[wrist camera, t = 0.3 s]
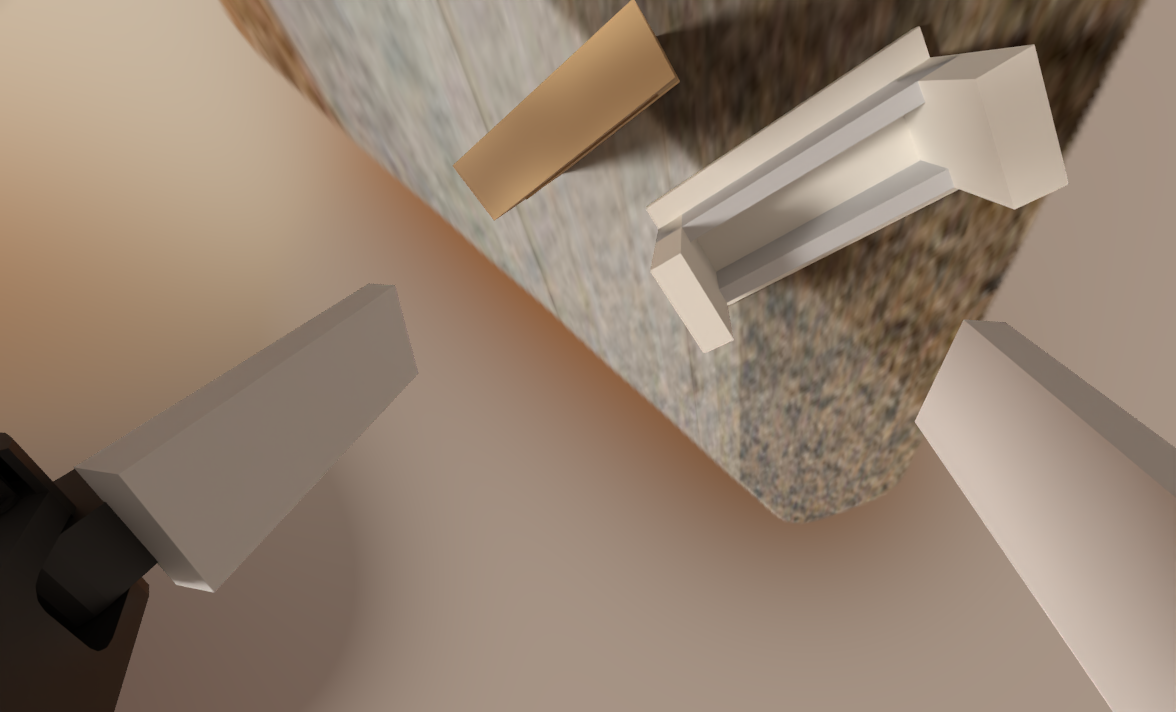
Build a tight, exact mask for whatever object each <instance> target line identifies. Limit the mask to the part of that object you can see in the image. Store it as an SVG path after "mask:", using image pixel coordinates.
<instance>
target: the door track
mask: <svg viewBox="0 0 1176 712" xmlns="http://www.w3.org/2000/svg"><path fill="white" fill-rule="evenodd" d="M1068 184H1069V183H1068V179H1067V175H1066V170H1065V166H1064V162H1063V158H1062V154H1061V150H1060V146H1059V142H1058V138H1057V134H1056V130H1055V126H1054V122H1053V118H1052V114H1051V110H1050V106H1049V101H1048V97H1047V93H1046V89H1045V85H1044V81H1043V77H1042V73H1041V69H1040V65H1039V61H1038V57H1037V53H1036V49H1035V45H1034V44H1033V45H1025V46H1017V47H1010V48H1002V49H994V50H986V51H978V52H970V53H962V54H955V55H947V56H939V57H931V58H930V56H929V53H928V50H927V47H926V44H925V41H924V38H923V35H922V32H921V29H920V26H919V27H916V28H913V29H911V30H910V31H908V32H907V33H905V34H904V35H902V36H901V37H899V38H898V39H896V40H895V41H893V42H892V43H890V44H889V45H887V46H886V47H884V48H883V49H881V50H880V51H878V52H877V53H875V54H874V55H872V56H871V57H869V58H868V59H866V60H865V61H863V62H862V63H860V64H859V65H857V66H856V67H854V68H853V69H851V70H850V71H848V72H847V73H845V74H844V75H843V76H841V77H840V78H838V79H837V80H835V81H834V82H832V83H831V84H829V85H828V86H826V87H825V88H823V89H822V90H820V91H819V92H817V93H816V94H814V95H813V96H811V97H810V98H808V99H807V100H805V101H804V102H802V103H801V104H799V105H798V106H796V107H795V108H793V109H792V110H790V111H789V112H787V113H786V114H784V115H783V116H781V117H780V118H778V119H777V120H775V121H774V122H772V123H771V124H769V125H768V126H766V127H765V128H763V129H762V130H760V131H759V132H757V133H756V134H754V135H753V136H751V137H750V138H748V139H747V140H745V141H744V142H742V143H741V144H739V145H738V146H736V147H735V148H733V149H732V150H730V151H729V152H727V153H726V154H724V155H723V156H721V157H720V158H718V159H717V160H715V161H714V162H712V163H711V164H709V165H708V166H706V167H705V168H703V169H702V170H700V171H699V172H697V173H696V174H694V175H693V176H691V177H690V178H688V179H687V180H685V181H684V182H682V183H681V184H679V185H678V186H676V187H675V188H673V189H672V190H670V191H669V192H667V193H666V194H664V195H663V196H661V197H660V198H658V199H657V200H655V201H654V202H652V203H651V204H649V205H648V206H647V207H646V210H647V212H648V213H649V215H650V216H651V218H652V220H653V221H654V223H655V224H656V226H657V228H658V234H657V239H656V244H655V249H654V254H653V259H652V264H651V269H650V272H651V273H652V275H653V276H654V278H655V279H656V281H657V282H658V284H659V285H660V287H661V289H662V290H663V292H664V293H665V295H666V296H667V298H668V299H669V301H670V302H671V304H672V305H673V307H674V308H675V310H676V312H677V313H678V315H679V316H680V318H681V319H682V321H683V322H684V324H685V325H686V327H687V328H688V330H689V331H690V333H691V335H692V336H693V338H694V339H695V341H696V342H697V344H698V345H699V347H700V348H701V350H702V351H703V353H707V352H709V351H711V350H713V349H715V348H717V347H719V346H722V345H724V344H726V343H728V342H730V341H732V340H734V338H733V332H732V327H731V322H730V316H729V311H728V305H730V304H732V303H734V302H736V301H738V300H740V299H742V298H744V297H746V296H748V295H750V294H752V293H754V292H756V291H758V290H760V289H762V288H764V287H766V286H768V285H770V284H772V283H774V282H776V281H778V280H780V279H782V278H784V277H786V276H788V275H790V274H792V273H794V272H796V271H798V270H800V269H802V268H804V267H806V266H808V265H810V264H812V263H814V262H816V261H818V260H820V259H822V258H824V257H826V256H828V255H830V254H832V253H834V252H836V251H838V250H840V249H842V248H844V247H846V246H848V245H850V244H852V243H854V242H856V241H858V240H859V239H861V238H863V237H865V236H867V235H869V234H871V233H873V232H875V231H877V230H879V229H881V228H883V227H885V226H887V225H889V224H891V223H893V222H895V221H897V220H899V219H901V218H903V217H905V216H907V215H909V214H911V213H913V212H915V211H917V210H919V209H921V208H923V207H925V206H927V205H929V204H931V203H933V202H935V201H937V200H939V199H941V198H943V197H945V196H947V195H949V194H951V193H953V192H955V191H957V190H959V189H960V190H963V191H966V192H969V193H971V194H974V195H977V196H979V197H982V198H985V199H988V200H990V201H993V202H996V203H998V204H1001V205H1004V206H1007V207H1009V208H1012V209H1017V208H1019V207H1021V206H1023V205H1025V204H1027V203H1030V202H1032V201H1034V200H1036V199H1038V198H1040V197H1042V196H1045V195H1047V194H1049V193H1051V192H1053V191H1055V190H1057V189H1059V188H1062V187H1064V186H1066V185H1068Z"/></svg>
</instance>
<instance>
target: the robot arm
mask: <svg viewBox="0 0 1176 712" xmlns="http://www.w3.org/2000/svg"><path fill="white" fill-rule="evenodd" d="M417 374H418V371H417V367H416V363H415V359H414V355H413V351H412V347H411V344H410V340H409V336H408V333H407V329H406V325H405V321H404V317H403V313H402V310H401V306H400V302H399V298H398V295H397V291H396V287H395V285H384V284H383V285H382V284H367V285H366V286H364V287H362V288H361V289H359V290H357V291H356V292H354V293H353V294H351V295H350V296H348V297H346V298H345V299H343V300H341V301H340V302H338V303H337V304H335V305H333V306H332V307H331V308H329V309H327V310H325V311H324V312H322V313H321V314H319V315H317V316H316V317H314V318H313V319H311V320H309V321H308V322H306V323H304V324H303V325H301V326H300V327H298V328H296V329H295V330H294V331H292V332H290V333H288V334H287V335H285V336H284V337H282V338H280V339H279V340H277V341H276V342H274V343H272V344H271V345H269V346H268V347H266V348H264V349H263V350H261V351H260V352H258V353H257V354H255V355H253V356H251V357H250V358H248V359H247V360H245V361H243V362H242V363H240V364H239V365H237V366H236V367H234V368H232V369H231V370H229V371H227V372H226V373H224V374H223V375H221V376H219V377H218V378H216V379H214V380H213V381H211V382H210V383H208V384H206V385H205V386H203V387H202V388H200V389H198V390H197V391H195V392H194V393H192V394H190V395H189V396H187V397H186V398H184V399H182V400H181V401H179V402H178V403H176V404H175V405H173V406H171V407H170V408H168V409H166V410H165V411H163V412H162V413H160V414H158V415H157V416H155V417H153V418H152V419H150V420H149V421H147V422H145V423H144V424H142V425H141V426H139V427H137V428H136V429H134V430H133V431H131V432H129V433H128V434H126V435H125V436H123V437H121V438H120V439H118V440H117V441H115V442H113V443H112V444H110V445H108V446H107V447H105V448H104V449H102V450H101V451H99V452H97V453H96V454H94V455H93V456H91V457H89V458H88V459H86V460H84V461H83V462H81V463H79V464H78V465H76V466H75V467H74V470H72V471H70V472H69V473H67V474H66V475H64V476H62V477H61V478H59V479H57V480H55V481H52V480H51V479H50V478H49V477H48V476H47V475H46V474H45V473H44V472H43V471H42V470H41V468H39V466H38V465H37V464H36V463H35V462H34V461H33V460H32V459H31V458H30V457H29V456H28V455H27V453H26V452H25V451H24V450H23V449H22V448H21V447H20V446H19V445H18V444H17V443H16V442H15V441H14V440H13V438H11V437H10V436H9V435H7V434H6V433H0V712H114V710H115V707H116V704H117V700H118V697H119V694H120V690H121V687H122V684H123V680H124V677H125V674H126V670H127V667H128V664H129V660H130V657H131V653H132V650H133V647H134V644H135V640H136V637H137V634H138V631H139V627H140V624H141V621H142V617H143V614H144V611H145V607H146V604H147V601H148V597H149V584H148V583H147V582H146V581H145V580H144V579H143V578H142V576H143V575H144V574H145V573H147V572H148V571H149V570H150V569H151V568H152V567H153V566H154V565H155V564H156V563H158V564H159V565H160V567H161V568H162V569H163V570H164V571H165V572H166V573H167V575H168V576H169V577H170V578H171V579H172V580H173V581H174V583H175V584H176V585H181V586H185V587H190V588H195V589H200V590H205V591H209V592H215V591H216V590H217V589H218V588H219V587H220V586H221V585H222V584H223V583H224V582H225V581H226V579H227V578H228V577H229V576H230V575H231V574H232V573H233V572H234V571H235V570H236V569H237V568H238V567H239V565H240V564H241V563H242V562H243V561H244V560H245V559H246V558H247V557H248V556H249V555H250V554H251V553H252V551H253V550H254V549H255V548H256V547H257V546H258V545H259V544H260V543H261V542H262V541H263V540H264V539H265V538H266V536H267V535H268V534H269V533H270V532H271V531H272V530H273V529H274V528H275V527H276V526H277V525H278V524H279V522H280V521H281V520H282V519H283V518H284V517H285V516H286V515H287V514H288V513H289V512H290V511H291V510H292V509H293V507H294V506H295V505H296V504H297V503H298V502H299V501H300V500H301V499H302V498H303V497H304V496H305V495H306V494H307V492H308V491H309V490H310V489H311V488H312V487H313V486H314V485H315V484H316V483H317V482H318V481H319V480H320V478H321V477H322V476H323V475H324V474H325V473H326V472H327V471H328V470H329V469H330V468H331V467H332V466H333V465H334V463H335V462H336V461H337V460H338V459H339V458H340V457H341V456H342V455H343V454H344V453H345V452H346V451H347V449H348V448H349V447H350V446H351V445H352V444H353V443H354V442H355V441H356V440H357V439H358V437H360V436H361V434H362V433H363V432H364V431H365V430H366V429H367V428H368V427H369V426H370V425H371V424H372V423H373V422H374V420H375V419H376V418H377V417H378V416H379V415H380V414H381V413H382V412H383V411H384V410H385V409H386V408H387V406H388V405H389V404H390V403H391V402H392V401H393V400H394V399H395V398H396V397H397V396H398V395H399V394H400V393H401V391H402V390H403V389H404V388H405V387H406V386H407V385H408V384H409V383H410V382H411V381H412V380H413V379H414V378H415V376H416V375H417ZM915 423H916V424H917V426H918V427H919V429H920V430H921V431H922V433H923V434H924V436H925V437H926V438H927V440H928V442H929V443H930V445H931V446H932V448H933V449H934V451H935V452H936V453H937V455H938V456H939V458H940V459H941V461H942V462H943V464H944V465H945V467H946V468H947V470H948V471H949V472H950V474H951V475H952V477H953V478H954V480H955V481H956V483H957V484H958V486H959V487H960V489H961V490H962V492H963V493H964V494H965V496H966V497H967V499H968V500H969V502H970V503H971V505H972V506H973V508H974V509H975V510H976V512H977V513H978V515H979V516H980V518H981V519H982V521H983V522H984V524H985V525H986V527H987V528H988V530H989V531H990V532H991V534H992V535H993V537H994V538H995V540H996V541H997V543H998V544H999V546H1000V547H1001V549H1002V550H1003V551H1004V553H1005V554H1006V556H1007V557H1008V559H1009V560H1010V562H1011V563H1012V565H1013V566H1014V568H1015V569H1016V571H1017V572H1018V573H1019V575H1020V576H1021V578H1022V579H1023V581H1024V582H1025V584H1026V585H1027V587H1028V588H1029V590H1030V591H1031V592H1032V594H1033V595H1034V597H1035V598H1036V600H1037V601H1038V603H1039V604H1040V606H1041V607H1042V609H1043V610H1044V612H1045V613H1046V614H1047V616H1048V617H1049V619H1050V620H1051V622H1052V623H1053V625H1054V626H1055V628H1056V629H1057V631H1058V632H1059V634H1060V635H1061V637H1062V638H1063V639H1064V641H1065V642H1066V644H1067V645H1068V647H1069V648H1070V650H1071V651H1072V653H1073V654H1074V655H1075V657H1076V658H1077V660H1078V661H1079V663H1080V664H1081V666H1082V667H1083V669H1084V670H1085V671H1086V673H1087V675H1088V676H1089V677H1090V679H1091V680H1092V682H1093V683H1094V685H1095V686H1096V688H1097V689H1098V691H1099V692H1100V694H1101V695H1102V697H1103V698H1104V699H1105V701H1106V702H1107V704H1108V705H1109V707H1110V708H1111V710H1112V711H1113V712H1176V448H1175V447H1174V446H1172V445H1171V444H1170V443H1168V442H1167V441H1166V440H1164V439H1163V438H1162V437H1160V436H1159V435H1157V434H1156V433H1155V432H1153V431H1152V430H1151V429H1149V428H1148V427H1146V426H1145V425H1144V424H1143V423H1141V422H1140V421H1138V420H1137V419H1136V418H1134V417H1133V416H1132V415H1130V414H1129V413H1127V412H1126V411H1125V410H1124V409H1122V408H1121V407H1119V406H1118V405H1117V404H1115V403H1114V402H1113V401H1111V400H1110V399H1109V398H1107V397H1106V396H1105V395H1103V394H1102V393H1100V392H1099V391H1098V390H1097V389H1095V388H1094V387H1092V386H1091V385H1090V384H1088V383H1087V382H1085V381H1084V380H1083V379H1082V378H1080V377H1079V376H1078V375H1076V374H1075V373H1073V372H1072V371H1071V370H1069V369H1068V368H1067V367H1065V366H1064V365H1063V364H1061V363H1060V362H1058V361H1057V360H1056V359H1055V358H1053V357H1052V356H1050V355H1049V354H1048V353H1046V352H1045V351H1044V350H1042V349H1041V348H1040V347H1038V346H1037V345H1035V344H1034V343H1033V342H1031V341H1030V340H1029V339H1027V338H1026V337H1025V336H1023V335H1022V334H1021V333H1019V332H1018V331H1017V330H1015V329H1014V328H1013V327H1011V326H1010V325H1008V324H1007V323H1006V322H992V321H977V320H963V322H962V324H961V326H960V328H959V330H958V332H957V335H956V337H955V339H954V341H953V343H952V345H951V347H950V349H949V351H948V353H947V355H946V358H945V360H944V362H943V364H942V366H941V368H940V370H939V372H938V374H937V376H936V378H935V380H934V383H933V385H932V387H931V389H930V391H929V393H928V395H927V397H926V399H925V401H924V403H923V405H922V408H921V410H920V412H919V414H918V416H917V418H916V420H915Z"/></svg>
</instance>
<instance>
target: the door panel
mask: <svg viewBox="0 0 1176 712" xmlns="http://www.w3.org/2000/svg"><path fill="white" fill-rule="evenodd" d="M679 82H680V80H679V79H678V77H677V75H676V73H675V71H674V69H673V67H672V65H671V63H670V62H669V60H668V58H667V56H666V54H665V52H664V50H663V48H662V47H661V45H660V43H659V41H658V39H657V37H656V35H655V34H654V32H653V30H652V29H651V27H650V25H649V24H648V22H647V20H646V19H645V17H644V15H643V14H642V12H641V10H640V9H639V7H638V5H637V4H636V2H635V0H631V1H630V2H629V3H628V4H627V5H626V6H625V7H623V8H622V9H621V10H620V11H619V12H618V13H617V14H616V15H615V16H614V17H613V18H612V19H611V20H609V21H608V22H607V23H606V24H605V25H604V26H603V27H602V28H601V29H600V30H599V31H598V32H596V33H595V34H594V35H593V36H592V37H591V38H590V39H589V40H588V41H587V42H586V43H585V44H584V45H582V46H581V47H580V48H579V49H578V50H577V51H576V52H575V53H574V54H573V55H572V56H571V57H569V58H568V59H567V60H566V61H565V62H564V63H563V64H562V65H561V66H560V67H559V68H558V69H557V70H555V71H554V72H553V73H552V74H551V75H550V76H549V77H548V78H547V79H546V80H545V81H544V82H542V83H541V84H540V85H539V86H538V87H537V88H536V89H535V90H534V91H533V92H532V93H531V94H529V95H528V96H527V97H526V98H525V99H524V100H523V101H522V102H521V103H520V104H519V105H518V106H517V107H515V108H514V109H513V110H512V111H511V112H510V113H509V114H508V115H507V116H506V117H505V118H504V119H502V120H501V121H500V122H499V123H498V124H497V125H496V126H495V127H494V128H493V129H492V130H491V131H490V132H488V133H487V134H486V135H485V136H484V137H483V138H482V139H481V140H480V141H479V142H478V143H477V144H475V145H474V146H473V147H472V148H471V149H470V150H469V151H468V152H467V153H466V154H465V155H464V156H462V157H461V158H460V159H459V160H458V161H457V162H456V163H455V164H454V165H453V167H454V168H455V170H456V171H457V172H458V174H459V175H460V176H461V178H462V179H463V180H464V182H465V183H466V184H467V186H468V187H469V188H470V189H471V191H472V192H473V193H474V195H475V196H476V197H477V199H478V200H479V201H480V203H481V204H482V205H483V207H484V208H485V209H486V211H487V212H488V213H489V214H490V216H491V217H492V218H493V220H496V219H497V218H499V217H500V216H502V215H503V214H505V213H506V212H508V211H509V210H510V209H512V208H513V207H515V206H516V205H518V204H519V203H521V202H522V201H524V200H525V199H526V200H527V199H528V198H529V197H531V196H532V195H534V194H535V193H536V192H537V191H539V190H540V189H541V188H543V187H544V186H545V185H547V184H548V183H550V182H551V181H553V180H554V179H556V178H557V177H559V176H560V175H561V174H563V173H564V172H565V171H567V170H568V169H569V168H571V167H572V166H573V165H574V164H576V163H577V162H578V161H579V160H581V159H582V158H583V157H585V156H586V155H587V154H588V153H590V152H591V151H592V150H594V149H595V148H596V147H597V146H599V145H600V144H601V143H602V142H604V141H605V140H606V139H608V138H609V137H610V136H611V135H613V134H614V133H615V132H617V131H618V130H619V129H620V128H622V127H623V126H624V125H625V124H627V123H628V122H629V121H631V120H632V119H633V118H634V117H636V116H637V115H638V114H640V113H641V112H642V111H643V110H645V109H646V108H647V107H648V106H650V105H651V104H652V103H654V102H655V101H656V100H657V99H659V98H660V97H661V96H662V95H664V94H665V93H666V92H668V91H669V90H670V89H671V88H673V87H674V86H675V85H677V84H678V83H679Z"/></svg>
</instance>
